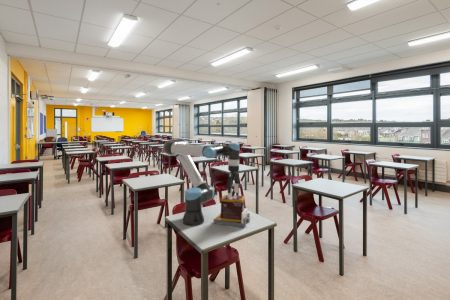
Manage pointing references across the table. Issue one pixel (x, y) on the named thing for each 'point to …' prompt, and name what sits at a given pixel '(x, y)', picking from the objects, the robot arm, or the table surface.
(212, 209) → the table surface
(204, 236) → the table surface
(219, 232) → the table surface
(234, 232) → the table surface
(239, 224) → the grey tray
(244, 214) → the pusher
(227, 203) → the supplement box
